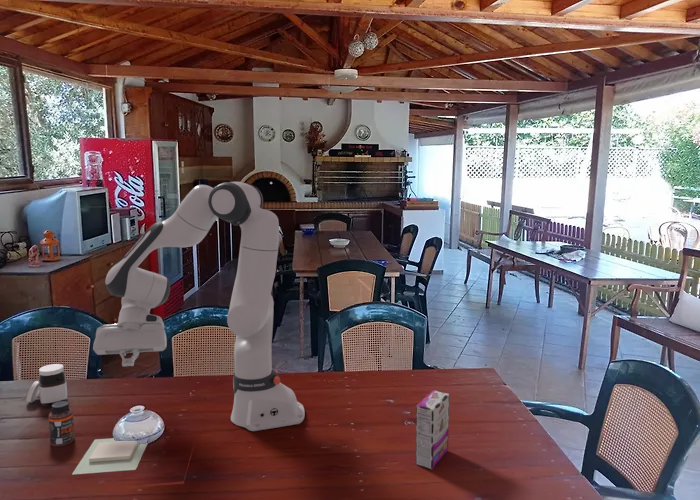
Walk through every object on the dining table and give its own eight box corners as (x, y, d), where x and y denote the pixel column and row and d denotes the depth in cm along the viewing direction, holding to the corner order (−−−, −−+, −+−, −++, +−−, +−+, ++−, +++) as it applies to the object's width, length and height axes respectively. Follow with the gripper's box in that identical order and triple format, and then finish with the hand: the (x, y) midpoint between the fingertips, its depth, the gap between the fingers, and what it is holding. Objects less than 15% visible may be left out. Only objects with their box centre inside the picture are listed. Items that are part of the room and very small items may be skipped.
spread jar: (69, 404, 166) (66, 370, 164) (28, 413, 160) (24, 377, 158) (65, 391, 176) (62, 358, 174) (26, 399, 169) (23, 365, 168)
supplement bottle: (64, 449, 139) (61, 409, 137) (45, 447, 140) (41, 407, 139) (80, 438, 145) (77, 400, 143) (61, 436, 146) (58, 398, 144)
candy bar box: (431, 445, 142) (433, 389, 139) (448, 450, 139) (450, 393, 137) (414, 464, 132) (415, 404, 130) (432, 470, 130) (434, 409, 127)
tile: (137, 439, 141) (129, 455, 133) (138, 444, 141) (130, 460, 133) (99, 442, 139) (88, 458, 131) (99, 446, 139) (89, 463, 132)
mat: (151, 437, 146) (151, 435, 146) (135, 471, 129) (135, 469, 129) (94, 441, 143) (94, 439, 143) (71, 476, 127) (71, 474, 127)
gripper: (94, 320, 154) (86, 363, 145) (166, 316, 157) (161, 358, 149) (100, 330, 159) (92, 372, 150) (169, 326, 162) (165, 367, 154)
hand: (127, 365), depth 150 cm, fingers closed
